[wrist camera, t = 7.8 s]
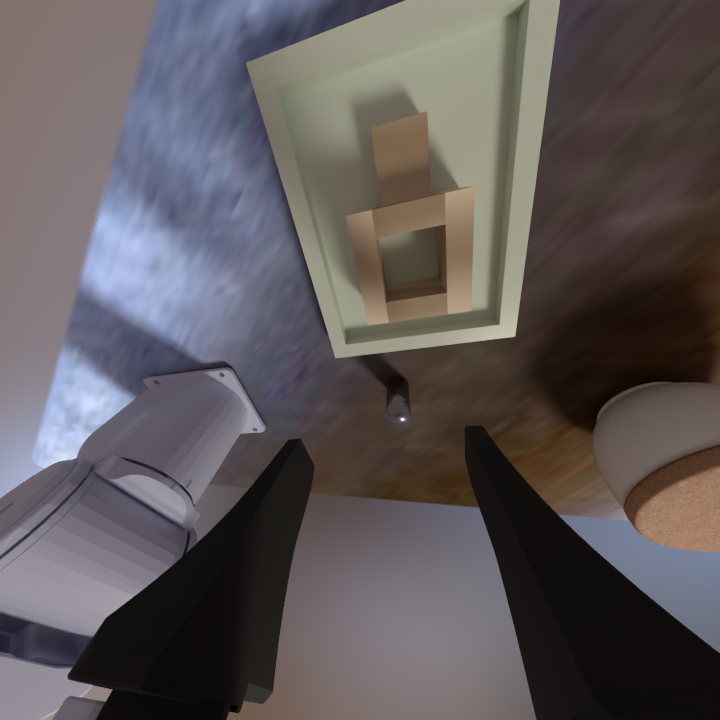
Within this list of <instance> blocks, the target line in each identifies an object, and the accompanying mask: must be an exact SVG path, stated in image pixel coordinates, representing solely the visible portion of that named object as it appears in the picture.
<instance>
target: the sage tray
mask: <svg viewBox="0 0 720 720" xmlns="http://www.w3.org/2000/svg"><path fill="white" fill-rule="evenodd" d="M559 4H560V0H405V1H402V2H400V3H397V4H395V5H392V6H389V7H387V8H384V9H382V10H379V11H377V12H374V13H372V14H369V15H366V16H364V17H361V18H359V19H356V20H354V21H351V22H349V23H346V24H344V25H341V26H338V27H336V28H333V29H331V30H328V31H326V32H323V33H321V34H318V35H315V36H313V37H310V38H308V39H305V40H303V41H300V42H298V43H295V44H293V45H290V46H287V47H285V48H282V49H280V50H277V51H275V52H272V53H270V54H267V55H265V56H262V57H259V58H257V59H254V60H252V61H249V62H247V63H246V65H247V68H248V72H249V75H250V78H251V82H252V85H253V88H254V92H255V95H256V98H257V101H258V105H259V108H260V111H261V115H262V118H263V121H264V124H265V128H266V131H267V134H268V138H269V141H270V144H271V147H272V151H273V154H274V157H275V161H276V164H277V167H278V170H279V174H280V177H281V180H282V184H283V187H284V190H285V193H286V197H287V200H288V203H289V207H290V210H291V213H292V216H293V220H294V223H295V226H296V230H297V233H298V236H299V240H300V243H301V246H302V249H303V253H304V256H305V259H306V263H307V266H308V269H309V272H310V276H311V279H312V282H313V286H314V289H315V292H316V295H317V299H318V302H319V305H320V309H321V312H322V315H323V318H324V322H325V325H326V328H327V332H328V335H329V338H330V341H331V345H332V348H333V351H334V355H335V358H342V357H351V356H359V355H367V354H375V353H384V352H392V351H400V350H409V349H417V348H425V347H433V346H442V345H450V344H458V343H466V342H475V341H483V340H491V339H500V338H508V337H515V334H516V326H517V319H518V311H519V304H520V296H521V289H522V281H523V274H524V266H525V259H526V251H527V244H528V236H529V229H530V221H531V214H532V206H533V199H534V191H535V184H536V176H537V169H538V161H539V154H540V146H541V139H542V131H543V124H544V116H545V109H546V101H547V94H548V86H549V79H550V71H551V64H552V56H553V49H554V41H555V34H556V26H557V19H558V11H559ZM426 111H427V118H428V140H429V162H430V184H431V194H434V193H438V192H442V191H447V190H451V189H455V188H460V187H471V186H475V204H474V235H473V266H472V297H471V311H467V312H460V313H453V314H446V315H439V316H432V317H425V318H418V319H411V320H403V321H396V322H389V323H382V324H375V325H368V323H367V318H366V313H365V308H364V303H363V298H362V293H361V288H360V283H359V278H358V273H357V268H356V263H355V258H354V254H353V249H352V244H351V239H350V234H349V229H348V224H347V219H346V216H347V215H349V214H351V213H353V212H357V211H361V210H365V209H369V208H374V207H378V206H381V200H380V193H379V185H378V178H377V171H376V163H375V156H374V148H373V141H372V134H371V128H372V127H375V126H379V125H382V124H385V123H389V122H392V121H395V120H399V119H402V118H405V117H409V116H412V115H416V114H419V113H422V112H426ZM380 244H381V251H382V257H383V264H384V271H385V278H386V285H387V286H388V285H394V284H400V283H406V282H412V281H418V280H423V279H429V278H435V277H438V255H437V229H436V226H435V227H430V228H425V229H421V230H416V231H411V232H406V233H401V234H397V235H392V236H387V237H382V238H380Z"/></svg>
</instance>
